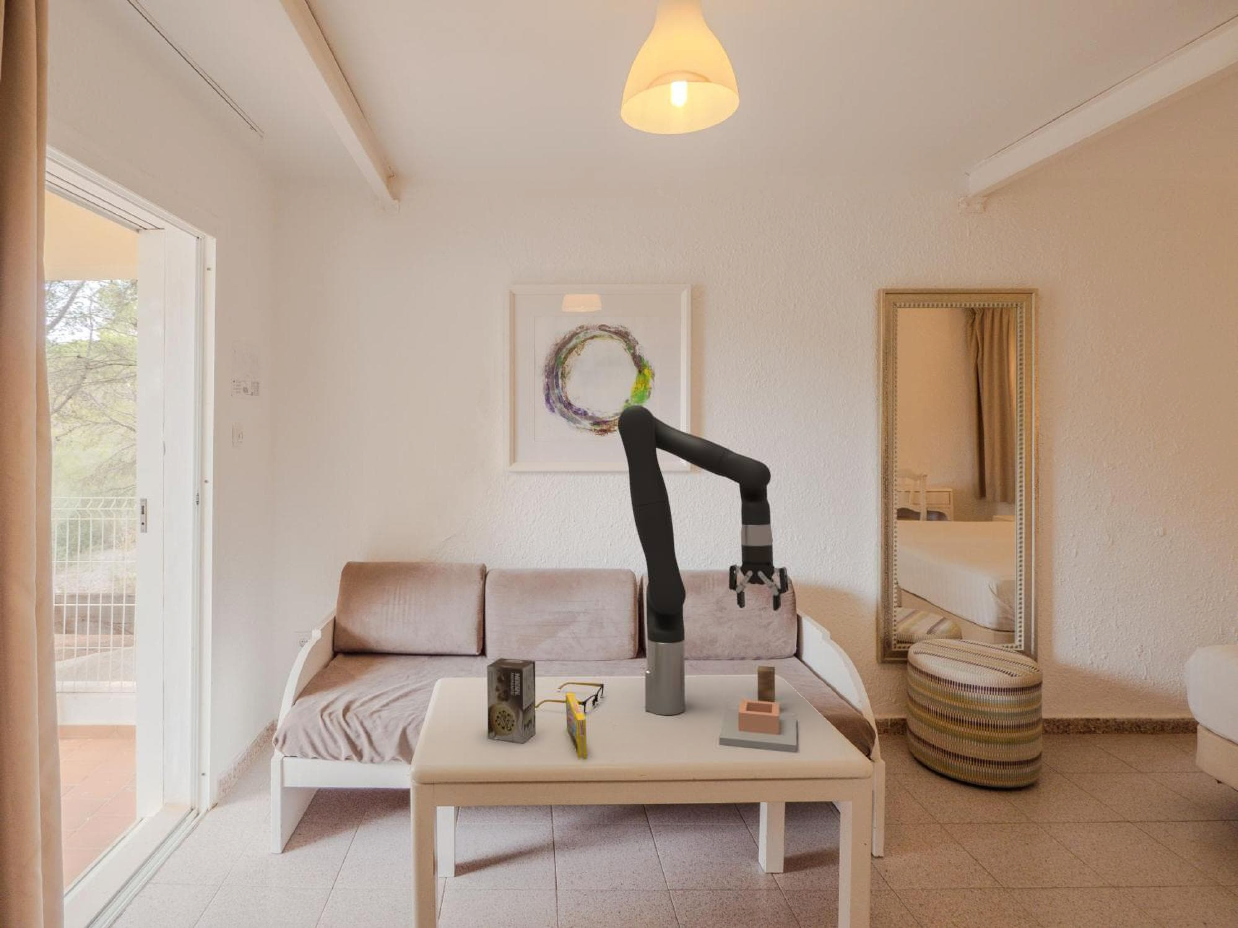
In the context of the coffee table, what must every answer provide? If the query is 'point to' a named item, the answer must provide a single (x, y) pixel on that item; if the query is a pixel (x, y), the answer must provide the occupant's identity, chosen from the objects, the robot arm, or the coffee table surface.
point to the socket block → (759, 727)
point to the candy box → (576, 725)
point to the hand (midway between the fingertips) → (759, 608)
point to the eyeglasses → (579, 701)
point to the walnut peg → (766, 683)
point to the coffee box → (511, 699)
